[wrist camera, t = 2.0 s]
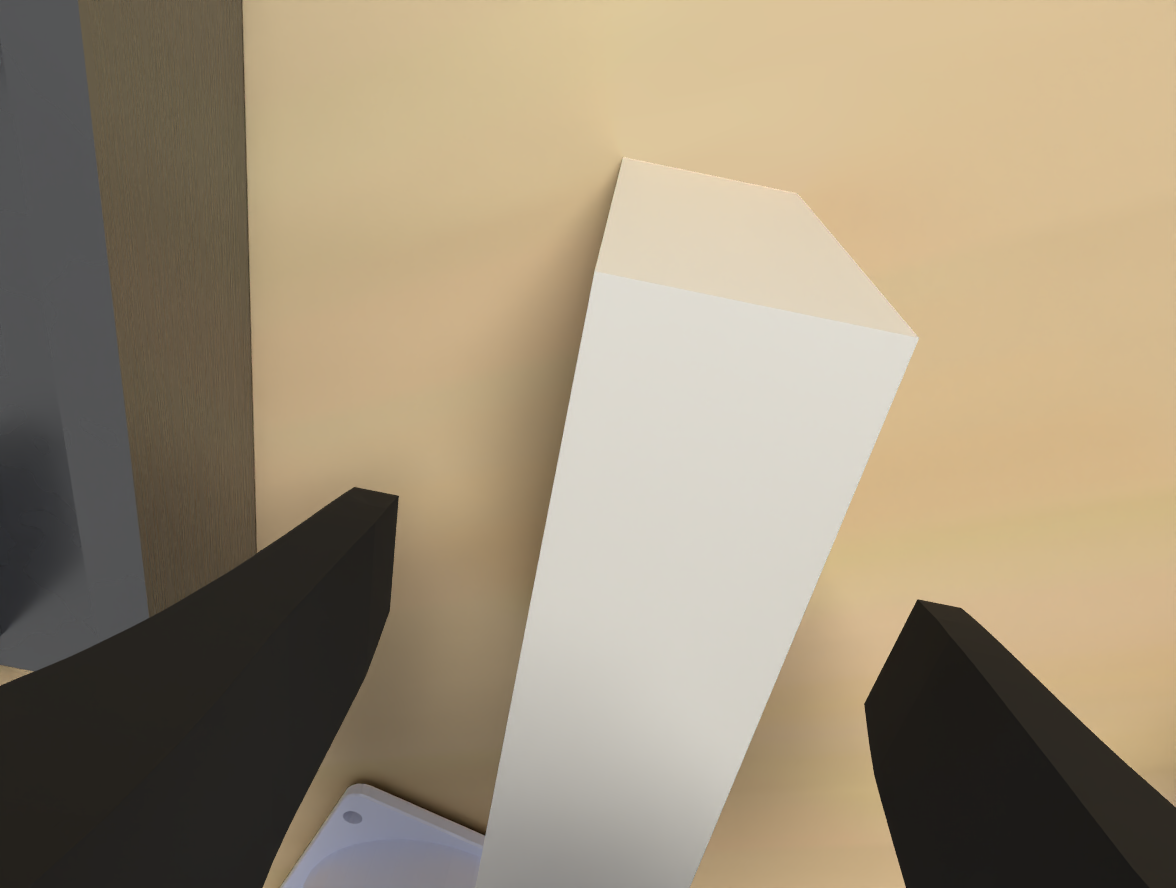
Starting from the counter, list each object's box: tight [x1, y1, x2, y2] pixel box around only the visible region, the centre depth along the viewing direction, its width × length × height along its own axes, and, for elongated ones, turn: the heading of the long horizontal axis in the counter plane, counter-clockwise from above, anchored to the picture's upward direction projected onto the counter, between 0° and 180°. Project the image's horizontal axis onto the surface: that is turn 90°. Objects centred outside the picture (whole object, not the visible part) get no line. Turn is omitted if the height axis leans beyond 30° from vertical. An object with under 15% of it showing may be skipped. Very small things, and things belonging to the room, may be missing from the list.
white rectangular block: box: [475, 157, 919, 888], centre depth 12 cm, size 10×3×7 cm, turn 169°
